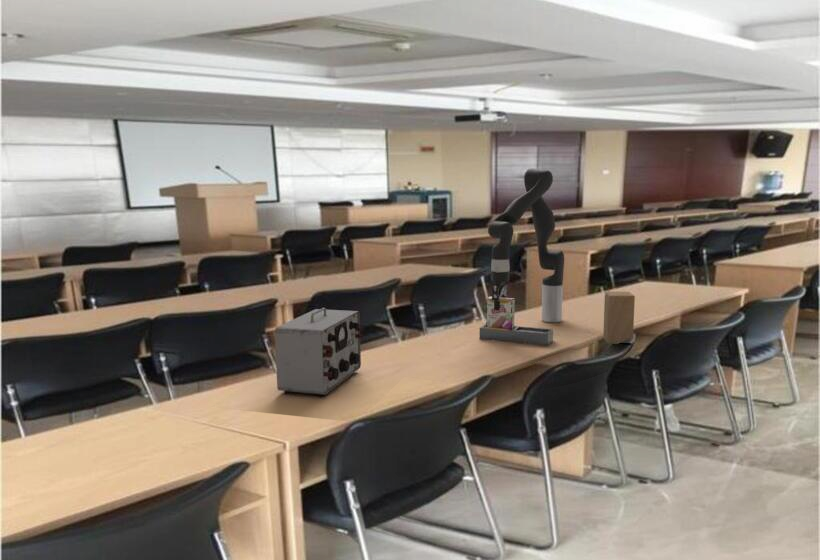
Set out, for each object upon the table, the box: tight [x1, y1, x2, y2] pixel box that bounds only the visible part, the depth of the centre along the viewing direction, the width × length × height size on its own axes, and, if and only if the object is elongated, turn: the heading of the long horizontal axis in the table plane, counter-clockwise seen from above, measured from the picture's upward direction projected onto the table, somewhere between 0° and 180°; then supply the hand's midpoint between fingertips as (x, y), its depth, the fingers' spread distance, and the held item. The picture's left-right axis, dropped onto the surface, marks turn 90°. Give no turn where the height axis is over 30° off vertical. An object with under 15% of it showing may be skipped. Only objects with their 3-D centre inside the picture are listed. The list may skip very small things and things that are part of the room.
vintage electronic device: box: [274, 307, 364, 398], centre depth 222 cm, size 32×18×25 cm, turn 163°
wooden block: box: [602, 291, 636, 345], centre depth 272 cm, size 10×10×20 cm
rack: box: [479, 323, 554, 347], centre depth 277 cm, size 8×29×5 cm, turn 65°
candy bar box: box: [485, 296, 516, 330], centre depth 279 cm, size 11×5×16 cm, turn 69°
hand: (500, 308), depth 278 cm, fingers open, 8 cm apart
